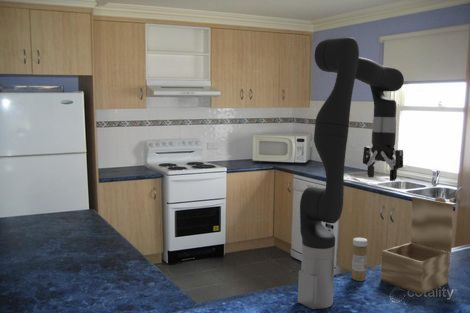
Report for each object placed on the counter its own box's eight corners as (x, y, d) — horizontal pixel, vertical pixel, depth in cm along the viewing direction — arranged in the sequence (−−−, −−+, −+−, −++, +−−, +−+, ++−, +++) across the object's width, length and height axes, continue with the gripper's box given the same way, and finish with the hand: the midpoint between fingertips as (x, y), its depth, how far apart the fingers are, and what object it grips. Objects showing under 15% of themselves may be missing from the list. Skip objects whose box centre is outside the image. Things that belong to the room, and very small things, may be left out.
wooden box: (419, 294, 142) (421, 262, 141) (380, 280, 154) (382, 250, 153) (448, 283, 152) (450, 253, 151) (409, 270, 163) (411, 242, 162)
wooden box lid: (452, 203, 149) (463, 199, 153) (412, 196, 160) (423, 192, 164) (450, 253, 151) (461, 248, 155) (411, 242, 162) (422, 238, 166)
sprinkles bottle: (357, 275, 158) (358, 236, 156) (368, 279, 154) (370, 239, 153) (348, 278, 155) (350, 238, 154) (360, 282, 151) (362, 241, 150)
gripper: (359, 129, 160) (357, 177, 162) (395, 132, 149) (393, 183, 150) (373, 129, 164) (371, 175, 166) (409, 131, 153) (406, 181, 155)
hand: (381, 178), depth 158 cm, fingers open, 8 cm apart
